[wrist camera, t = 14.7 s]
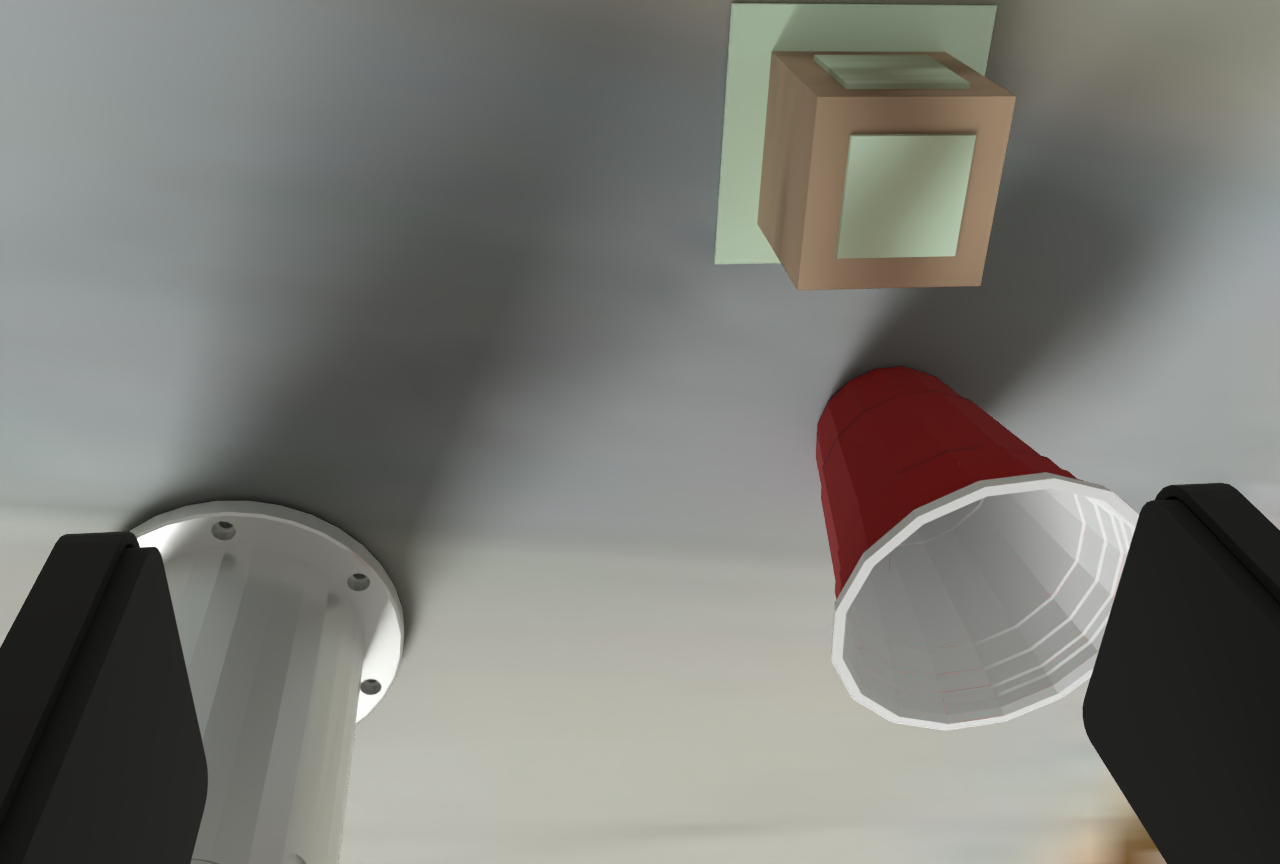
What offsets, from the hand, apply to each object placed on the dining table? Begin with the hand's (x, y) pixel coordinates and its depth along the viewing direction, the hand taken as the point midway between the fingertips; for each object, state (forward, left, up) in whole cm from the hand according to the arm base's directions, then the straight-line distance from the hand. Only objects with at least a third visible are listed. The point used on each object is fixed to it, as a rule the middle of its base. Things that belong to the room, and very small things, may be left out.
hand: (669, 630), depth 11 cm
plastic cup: (-16, -14, -31) cm, 37 cm away
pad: (-4, -11, -30) cm, 32 cm away
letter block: (-4, -11, -30) cm, 32 cm away
